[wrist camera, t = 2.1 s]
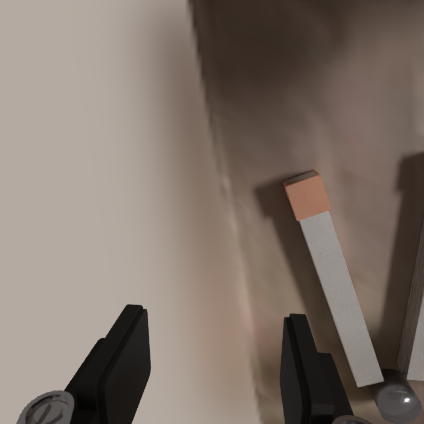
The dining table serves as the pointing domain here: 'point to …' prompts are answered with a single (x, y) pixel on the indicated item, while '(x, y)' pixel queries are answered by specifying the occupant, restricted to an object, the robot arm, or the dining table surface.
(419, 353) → the base
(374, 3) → the dining table surface
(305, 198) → the arm
